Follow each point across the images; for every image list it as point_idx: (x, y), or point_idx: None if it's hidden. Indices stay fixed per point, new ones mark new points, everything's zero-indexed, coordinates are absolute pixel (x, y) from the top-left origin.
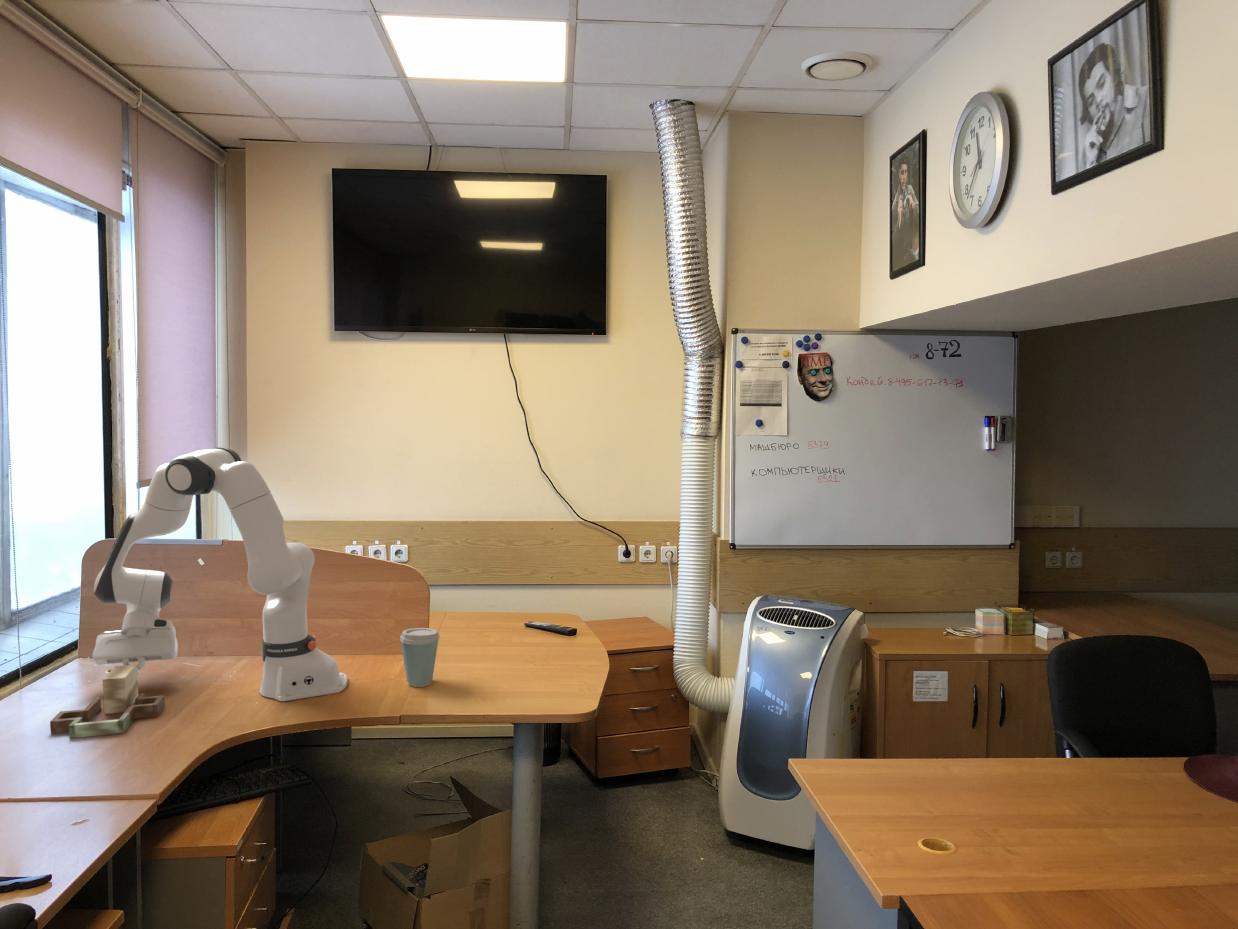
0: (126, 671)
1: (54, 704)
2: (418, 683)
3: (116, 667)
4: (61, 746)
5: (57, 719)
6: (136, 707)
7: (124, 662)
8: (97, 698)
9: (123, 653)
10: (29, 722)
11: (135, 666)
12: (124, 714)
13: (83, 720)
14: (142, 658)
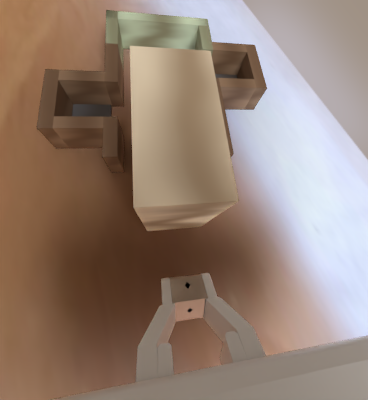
0: (149, 111)
1: (334, 219)
2: None
3: (223, 181)
4: None
5: (246, 51)
6: (99, 73)
7: (241, 328)
8: None
9: (289, 391)
10: (315, 128)
11: (133, 188)
12: (113, 36)
13: None
14: (143, 367)
